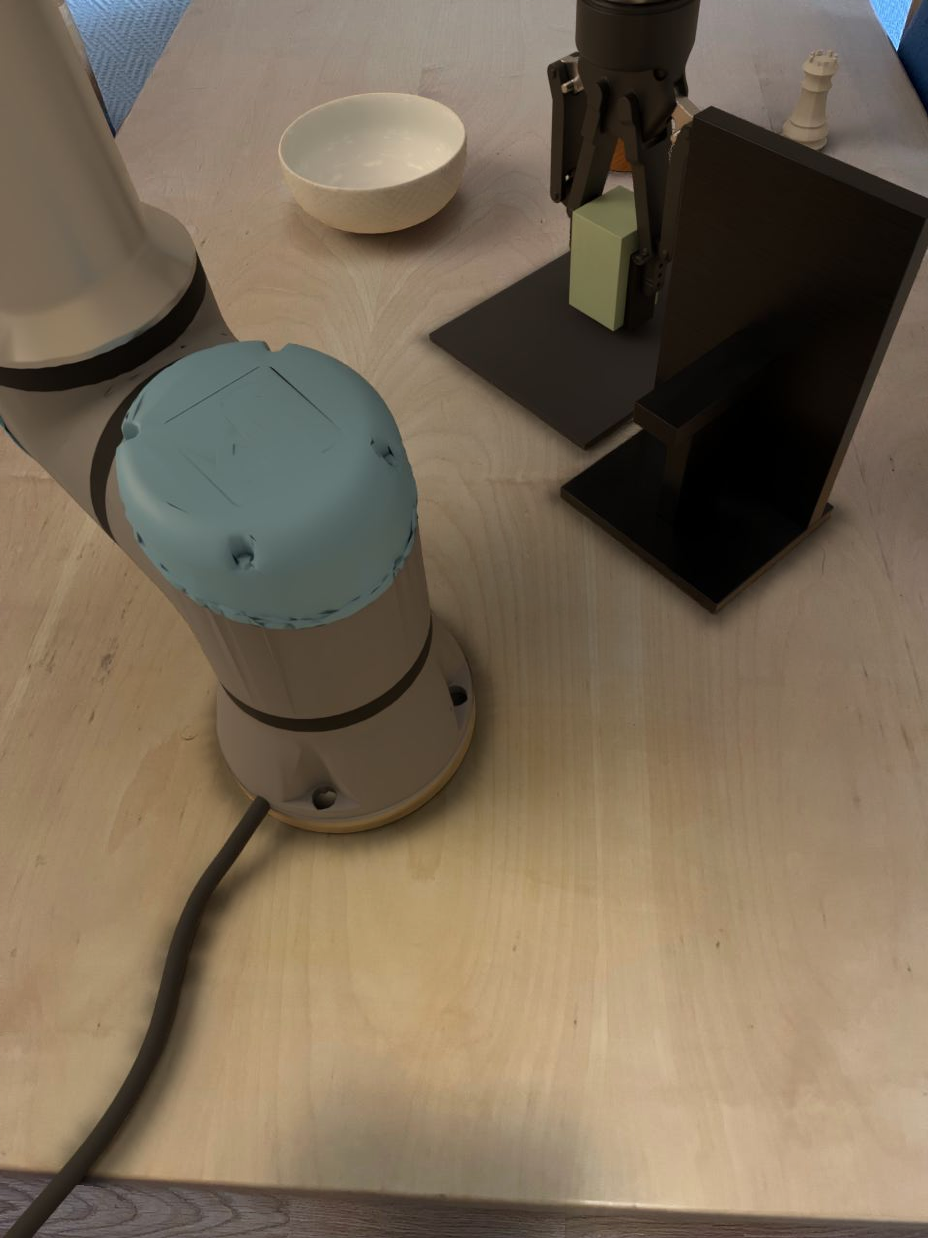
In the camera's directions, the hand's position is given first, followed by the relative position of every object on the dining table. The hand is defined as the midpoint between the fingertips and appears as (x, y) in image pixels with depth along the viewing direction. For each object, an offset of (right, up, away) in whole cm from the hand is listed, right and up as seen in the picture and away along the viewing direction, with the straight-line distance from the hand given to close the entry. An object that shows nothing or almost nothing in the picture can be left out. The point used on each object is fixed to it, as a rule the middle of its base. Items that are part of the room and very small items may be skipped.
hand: (612, 306), depth 73 cm
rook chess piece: (+21, +21, +15) cm, 33 cm away
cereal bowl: (-20, +13, +13) cm, 27 cm away
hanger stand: (+3, -18, -11) cm, 21 cm away
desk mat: (0, -1, +1) cm, 2 cm away
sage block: (0, 0, 0) cm, 0 cm away
